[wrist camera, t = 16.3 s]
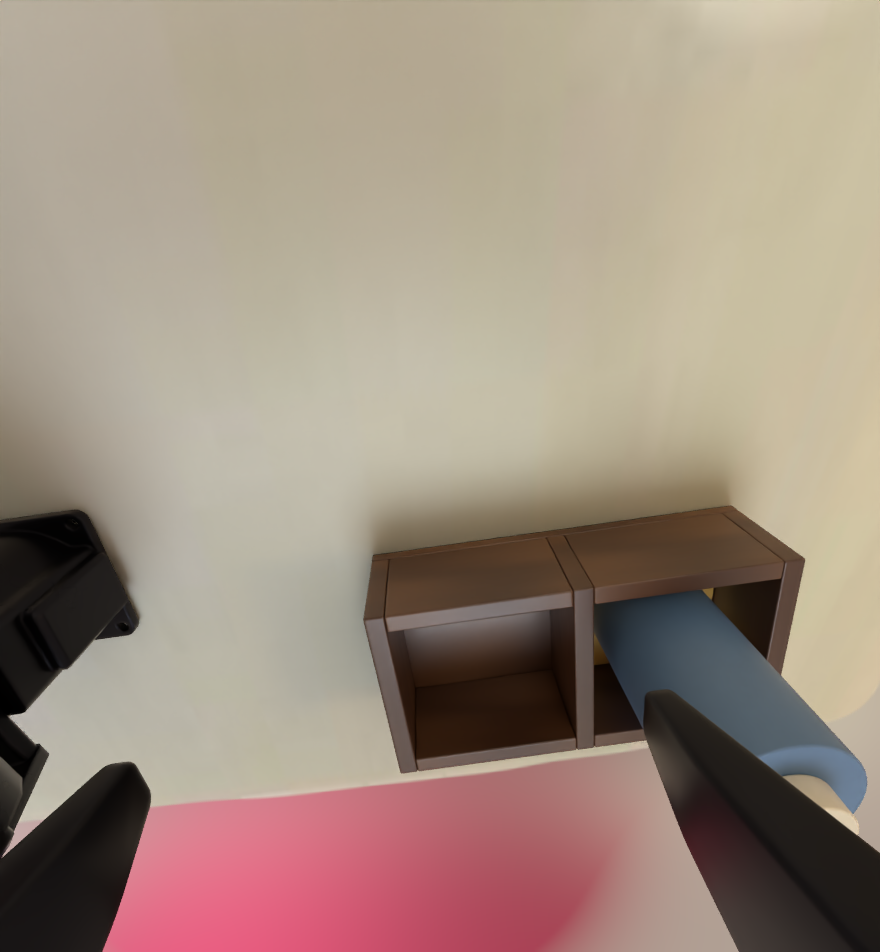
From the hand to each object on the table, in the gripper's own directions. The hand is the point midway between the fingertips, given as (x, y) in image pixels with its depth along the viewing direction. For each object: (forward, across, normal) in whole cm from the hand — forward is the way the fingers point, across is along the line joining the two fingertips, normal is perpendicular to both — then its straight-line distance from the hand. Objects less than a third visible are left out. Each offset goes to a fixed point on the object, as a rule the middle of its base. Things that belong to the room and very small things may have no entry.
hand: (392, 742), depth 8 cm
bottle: (+12, -10, +8) cm, 18 cm away
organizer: (+13, -6, +8) cm, 17 cm away
